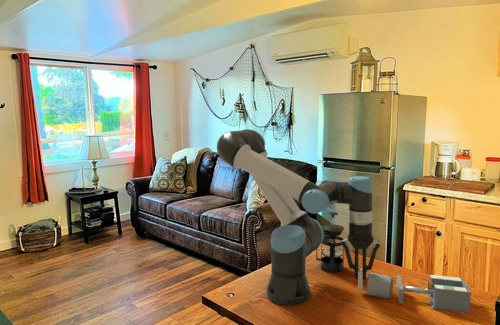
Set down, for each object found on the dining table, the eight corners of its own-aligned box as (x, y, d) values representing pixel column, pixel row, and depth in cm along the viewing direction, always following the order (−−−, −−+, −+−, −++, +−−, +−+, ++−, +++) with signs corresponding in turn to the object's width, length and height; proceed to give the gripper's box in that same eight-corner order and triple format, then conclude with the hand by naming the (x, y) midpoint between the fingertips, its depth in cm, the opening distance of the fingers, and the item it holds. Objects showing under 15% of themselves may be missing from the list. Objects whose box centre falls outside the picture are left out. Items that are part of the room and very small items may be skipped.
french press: (345, 264, 155) (346, 210, 152) (345, 273, 146) (346, 216, 143) (317, 261, 158) (317, 208, 155) (315, 271, 149) (315, 215, 146)
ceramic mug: (391, 303, 124) (392, 280, 123) (366, 298, 127) (366, 276, 126) (393, 289, 133) (394, 269, 132) (369, 285, 137) (370, 265, 136)
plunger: (399, 302, 122) (399, 281, 121) (396, 287, 132) (397, 268, 131) (441, 308, 118) (442, 286, 117) (435, 292, 129) (436, 271, 128)
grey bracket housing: (432, 309, 120) (433, 287, 119) (427, 294, 129) (428, 274, 128) (469, 313, 116) (471, 291, 116) (461, 298, 126) (463, 277, 125)
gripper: (339, 224, 126) (340, 290, 129) (381, 226, 122) (380, 295, 125) (341, 218, 133) (341, 281, 136) (380, 220, 129) (379, 285, 132)
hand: (360, 287), depth 131 cm, fingers closed
